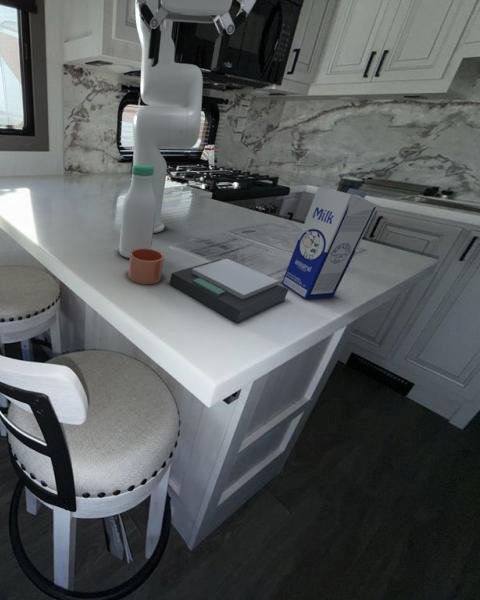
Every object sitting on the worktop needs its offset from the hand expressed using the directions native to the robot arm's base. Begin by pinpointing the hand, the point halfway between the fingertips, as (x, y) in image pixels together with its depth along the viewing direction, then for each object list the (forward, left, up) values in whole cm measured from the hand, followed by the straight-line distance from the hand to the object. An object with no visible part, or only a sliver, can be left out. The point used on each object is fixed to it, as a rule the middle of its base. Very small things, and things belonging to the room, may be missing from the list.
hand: (185, 67), depth 47 cm
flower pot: (0, -3, -36) cm, 36 cm away
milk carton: (+21, +23, -36) cm, 47 cm away
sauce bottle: (+14, +41, -36) cm, 56 cm away
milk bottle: (-11, +3, -36) cm, 38 cm away
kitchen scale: (+13, +7, -36) cm, 39 cm away
